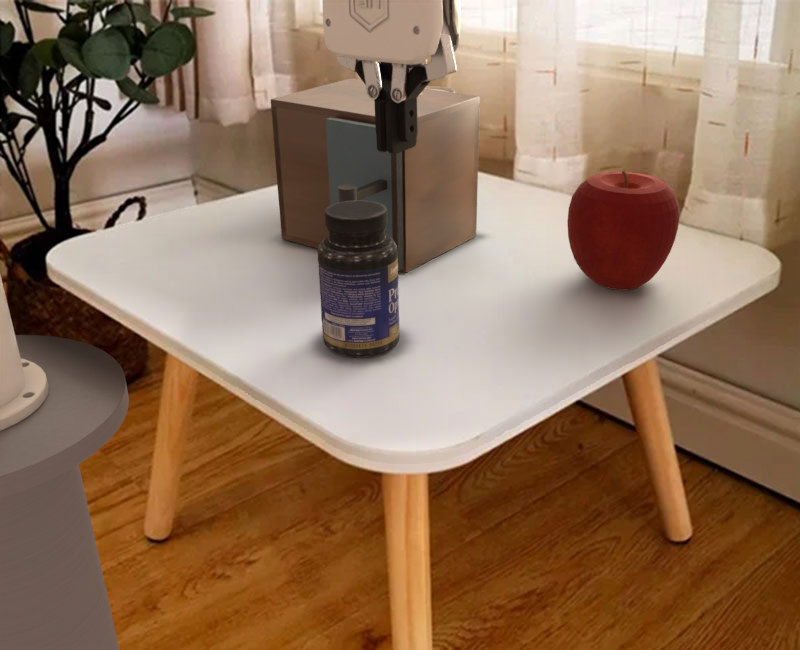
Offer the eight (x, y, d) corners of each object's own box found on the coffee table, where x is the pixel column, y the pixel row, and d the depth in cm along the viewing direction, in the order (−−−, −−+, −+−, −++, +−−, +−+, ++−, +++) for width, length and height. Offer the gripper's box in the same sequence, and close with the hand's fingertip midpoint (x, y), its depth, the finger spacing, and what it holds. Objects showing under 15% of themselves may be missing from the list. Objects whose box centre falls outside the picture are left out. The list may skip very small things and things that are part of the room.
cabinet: (406, 272, 88) (404, 120, 81) (281, 239, 97) (270, 99, 90) (476, 236, 96) (480, 96, 89) (355, 208, 105) (350, 78, 98)
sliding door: (358, 290, 83) (352, 145, 77) (291, 271, 87) (281, 131, 81) (403, 267, 88) (401, 128, 81) (338, 250, 92) (331, 116, 85)
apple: (692, 293, 83) (708, 182, 78) (596, 310, 80) (608, 196, 75) (632, 257, 91) (644, 154, 86) (543, 272, 88) (550, 165, 83)
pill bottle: (406, 355, 73) (405, 218, 68) (329, 364, 72) (321, 226, 67) (390, 323, 78) (387, 193, 73) (318, 330, 77) (309, 200, 72)
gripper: (275, -108, 68) (296, 147, 77) (445, -110, 60) (447, 175, 69) (342, -113, 73) (355, 127, 82) (508, -115, 65) (501, 151, 74)
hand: (397, 148), depth 75 cm, fingers closed
